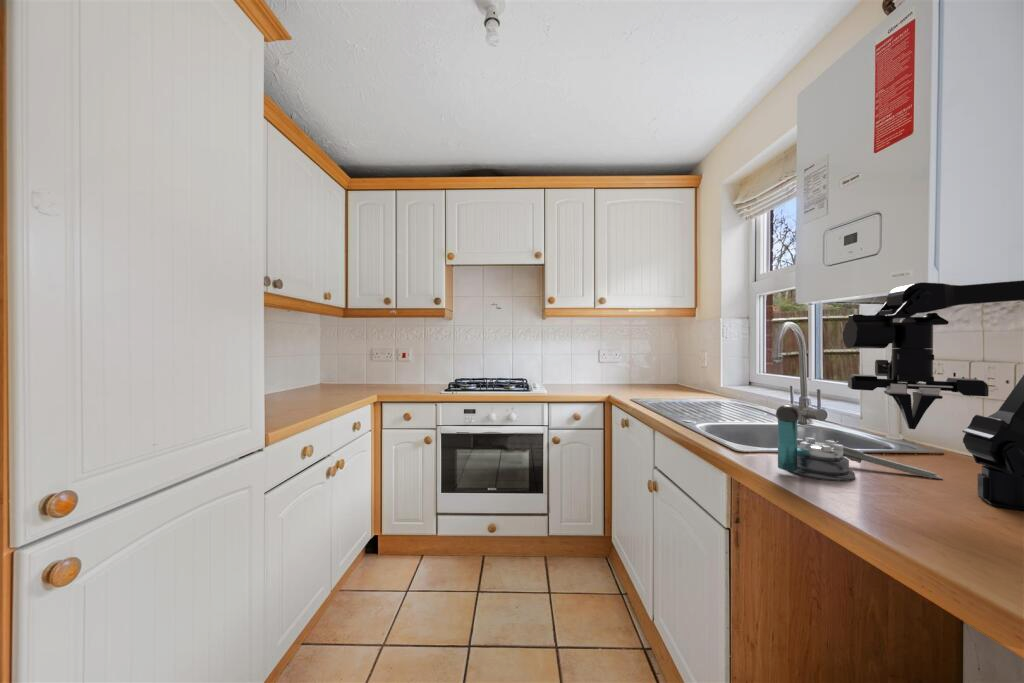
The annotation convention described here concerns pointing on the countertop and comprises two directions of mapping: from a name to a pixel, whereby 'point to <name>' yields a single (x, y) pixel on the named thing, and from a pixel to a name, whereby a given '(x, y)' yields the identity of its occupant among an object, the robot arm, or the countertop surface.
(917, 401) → the robot arm
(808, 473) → the cap housing
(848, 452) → the caliper
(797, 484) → the countertop surface
